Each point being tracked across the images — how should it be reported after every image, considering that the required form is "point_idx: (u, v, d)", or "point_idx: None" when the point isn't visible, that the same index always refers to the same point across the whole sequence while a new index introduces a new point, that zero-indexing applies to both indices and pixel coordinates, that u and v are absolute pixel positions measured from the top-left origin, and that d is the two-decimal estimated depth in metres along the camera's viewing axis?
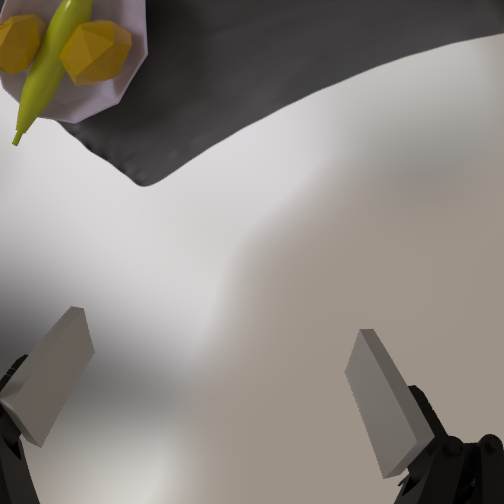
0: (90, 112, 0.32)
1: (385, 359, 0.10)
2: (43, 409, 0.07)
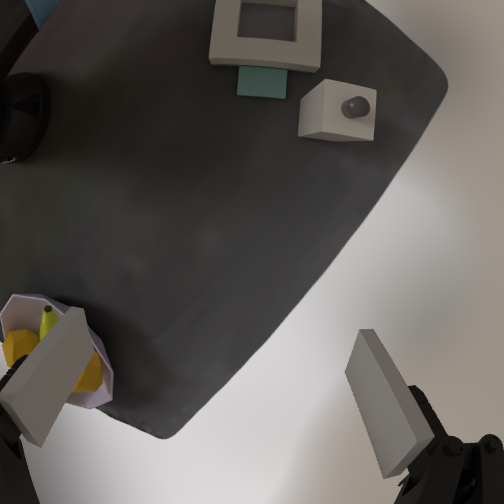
0: (97, 403, 0.44)
1: (385, 359, 0.10)
2: (43, 409, 0.07)
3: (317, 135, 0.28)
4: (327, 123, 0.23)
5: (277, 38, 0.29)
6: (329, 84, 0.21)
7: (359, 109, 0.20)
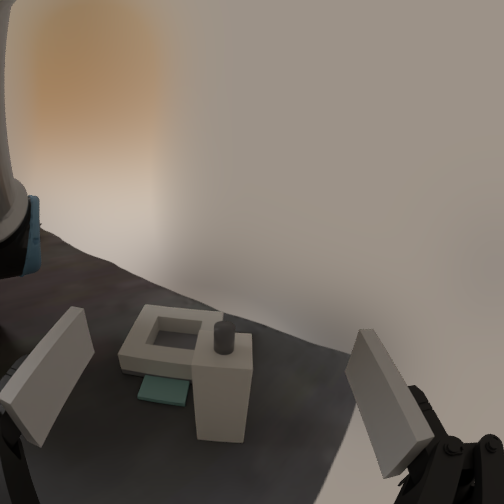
0: None
1: (385, 359, 0.10)
2: (43, 409, 0.07)
3: (205, 408, 0.24)
4: (197, 358, 0.23)
5: None
6: (202, 333, 0.26)
7: (224, 328, 0.23)
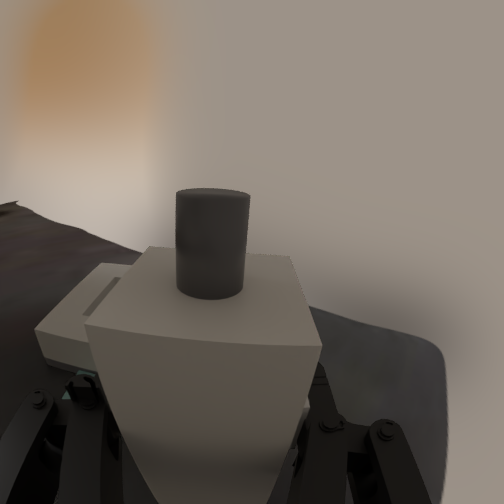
0: None
1: None
2: None
3: (161, 463, 0.07)
4: (114, 307, 0.06)
5: None
6: (156, 252, 0.10)
7: (210, 195, 0.07)
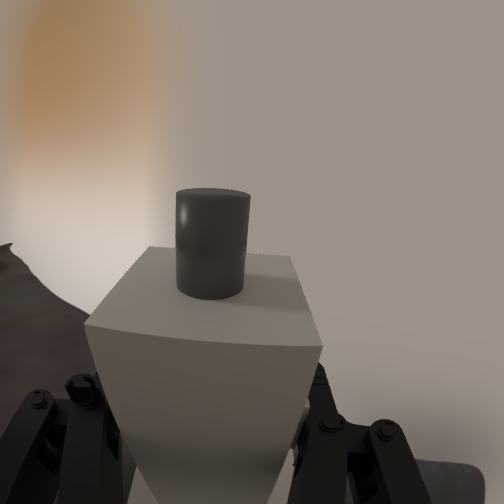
0: None
1: None
2: None
3: (161, 463, 0.07)
4: (114, 307, 0.06)
5: None
6: (156, 252, 0.09)
7: (210, 195, 0.07)
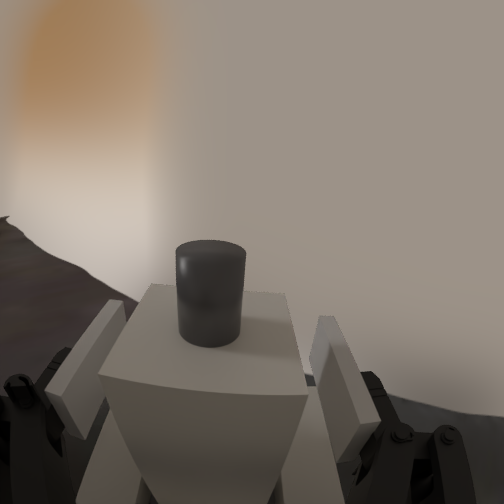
0: None
1: (340, 344, 0.11)
2: (88, 400, 0.09)
3: (167, 479, 0.08)
4: (123, 356, 0.06)
5: None
6: (158, 290, 0.10)
7: (208, 255, 0.07)
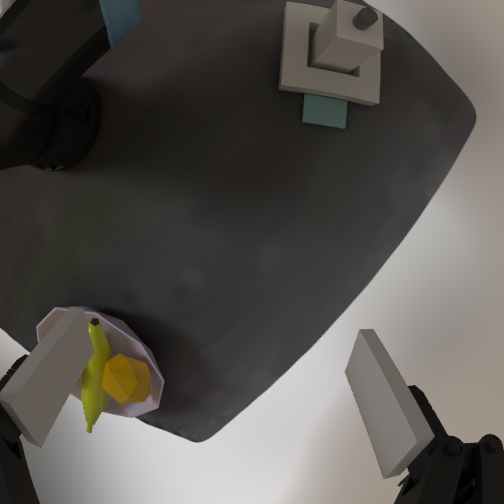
0: (139, 412, 0.47)
1: (385, 359, 0.10)
2: (43, 409, 0.07)
3: (330, 55, 0.26)
4: (341, 31, 0.20)
5: None
6: (340, 3, 0.19)
7: (369, 17, 0.18)
